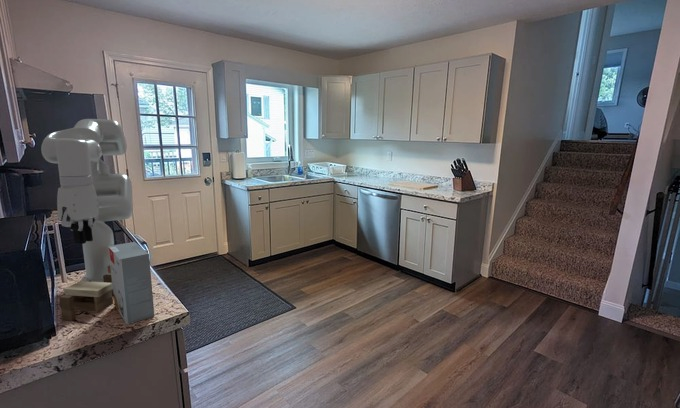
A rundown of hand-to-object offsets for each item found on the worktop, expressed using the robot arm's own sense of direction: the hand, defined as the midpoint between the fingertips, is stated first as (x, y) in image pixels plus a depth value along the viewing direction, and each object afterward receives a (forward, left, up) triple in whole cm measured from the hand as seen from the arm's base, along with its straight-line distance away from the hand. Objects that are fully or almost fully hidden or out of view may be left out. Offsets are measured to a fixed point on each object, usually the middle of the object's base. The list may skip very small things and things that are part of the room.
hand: (83, 241), depth 101 cm
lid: (0, 0, -16) cm, 16 cm away
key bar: (-18, 0, -14) cm, 23 cm away
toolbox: (0, 0, -21) cm, 21 cm away
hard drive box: (+1, +15, -21) cm, 26 cm away
